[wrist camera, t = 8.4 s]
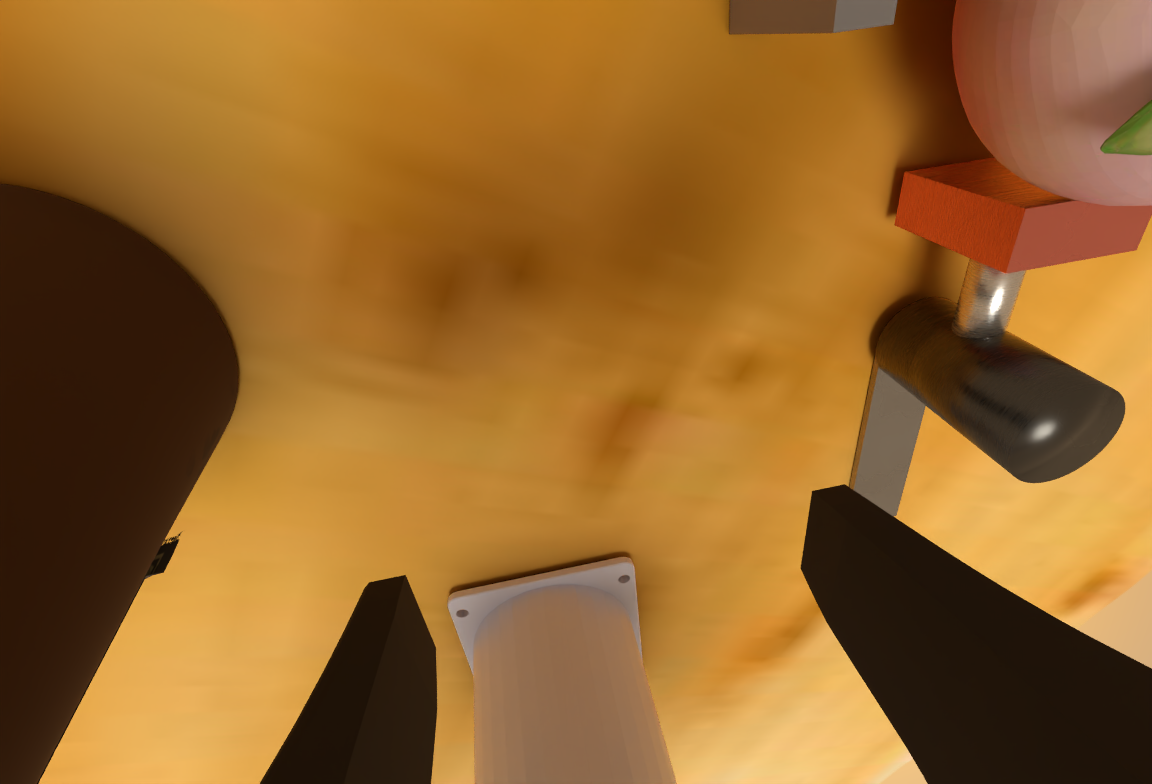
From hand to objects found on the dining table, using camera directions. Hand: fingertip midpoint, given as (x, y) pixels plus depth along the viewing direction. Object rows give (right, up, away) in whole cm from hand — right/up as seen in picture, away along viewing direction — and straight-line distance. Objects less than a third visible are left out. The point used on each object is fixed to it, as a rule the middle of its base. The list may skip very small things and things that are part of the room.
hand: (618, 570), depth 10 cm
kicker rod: (+11, +7, +9) cm, 16 cm away
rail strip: (+12, +1, +13) cm, 18 cm away
